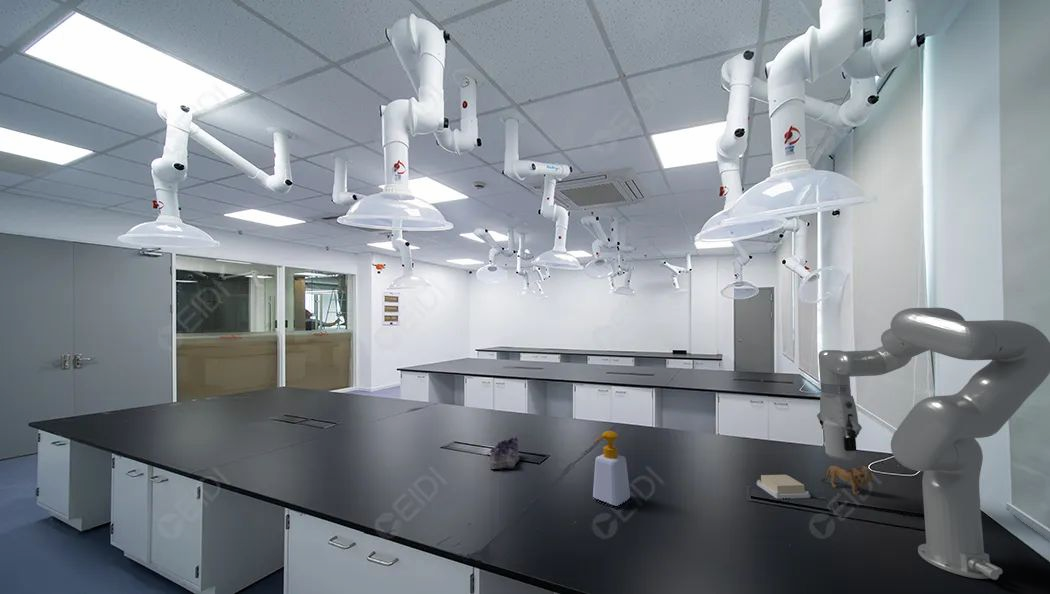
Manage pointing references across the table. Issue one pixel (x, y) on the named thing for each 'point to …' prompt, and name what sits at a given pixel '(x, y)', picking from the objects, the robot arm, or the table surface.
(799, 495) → the tower base
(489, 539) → the table surface
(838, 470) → the lion figurine
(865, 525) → the table surface
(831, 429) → the can
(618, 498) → the soap bottle
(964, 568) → the robot arm
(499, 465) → the geode
